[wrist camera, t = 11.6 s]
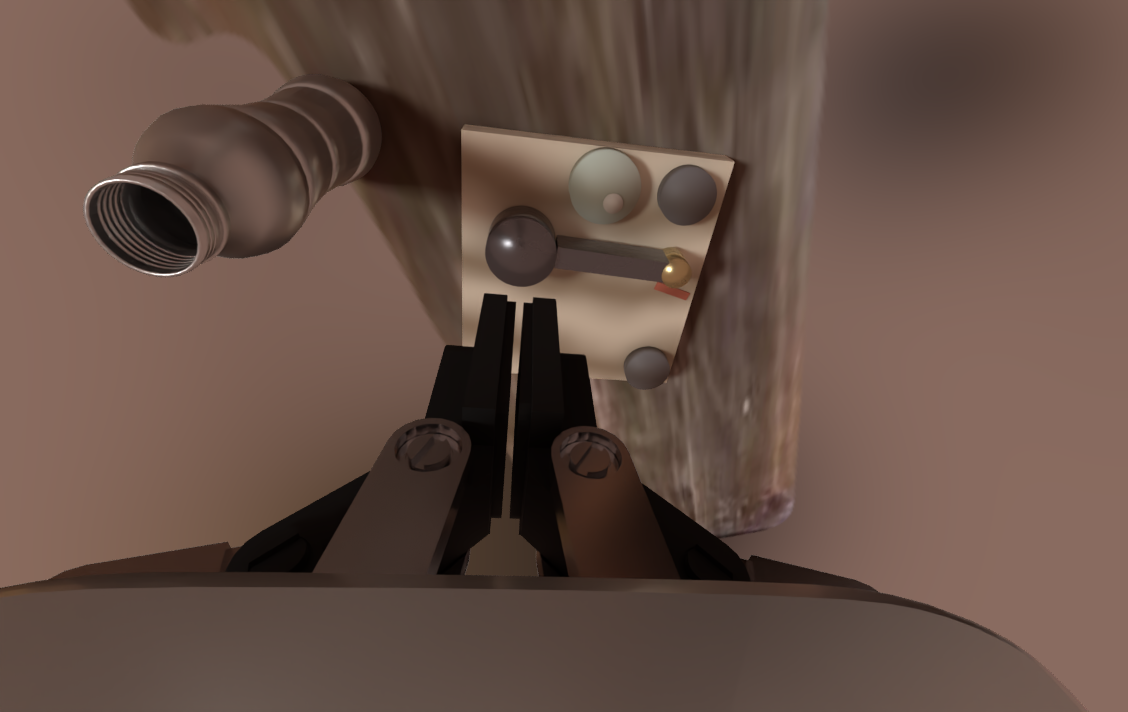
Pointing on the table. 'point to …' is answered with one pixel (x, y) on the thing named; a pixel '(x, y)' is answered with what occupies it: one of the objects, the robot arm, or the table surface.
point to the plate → (593, 238)
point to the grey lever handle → (571, 253)
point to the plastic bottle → (233, 176)
